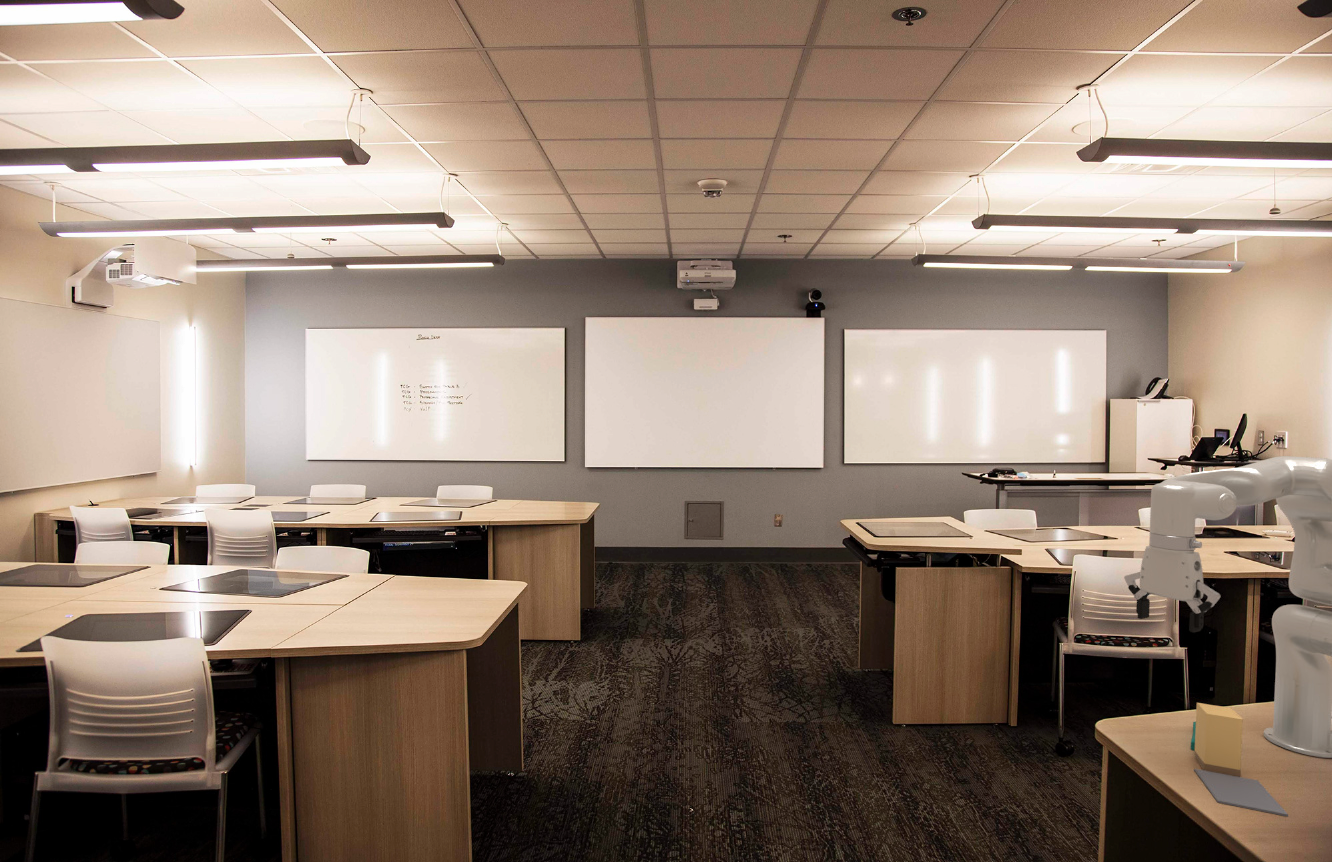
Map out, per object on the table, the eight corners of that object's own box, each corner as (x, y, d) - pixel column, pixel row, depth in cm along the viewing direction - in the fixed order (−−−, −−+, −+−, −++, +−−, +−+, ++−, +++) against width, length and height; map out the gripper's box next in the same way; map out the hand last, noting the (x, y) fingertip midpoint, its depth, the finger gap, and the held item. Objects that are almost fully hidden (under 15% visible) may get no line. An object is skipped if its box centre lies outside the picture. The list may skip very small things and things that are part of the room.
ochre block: (1228, 763, 143) (1231, 707, 143) (1240, 777, 138) (1242, 719, 137) (1194, 757, 145) (1196, 702, 145) (1204, 770, 140) (1206, 713, 140)
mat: (1257, 782, 136) (1257, 780, 136) (1288, 816, 124) (1288, 814, 124) (1194, 770, 140) (1194, 768, 140) (1217, 802, 128) (1217, 800, 128)
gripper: (1230, 549, 134) (1227, 634, 134) (1137, 535, 149) (1134, 611, 149) (1210, 551, 130) (1207, 639, 131) (1117, 537, 146) (1114, 615, 146)
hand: (1168, 624), depth 140 cm, fingers open, 9 cm apart
